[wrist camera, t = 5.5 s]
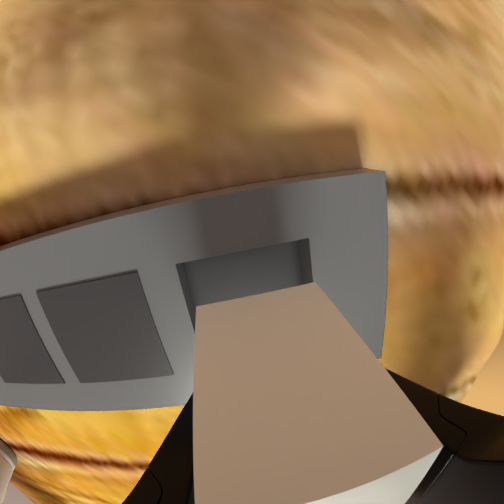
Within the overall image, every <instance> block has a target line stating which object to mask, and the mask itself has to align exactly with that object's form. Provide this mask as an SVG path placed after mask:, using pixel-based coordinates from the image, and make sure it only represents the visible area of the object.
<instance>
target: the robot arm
mask: <svg viewBox="0 0 504 504" xmlns="http://www.w3.org/2000/svg"><path fill="white" fill-rule="evenodd" d="M386 370H387V372H388V373H389V374H390V376H391V377H392V378H393V379H394V381H395V382H396V383H397V385H398V386H399V387H400V389H401V390H402V391H403V392H404V394H405V395H406V396H407V398H408V399H409V400H410V402H411V403H412V404H413V406H414V407H415V408H416V410H417V411H418V412H419V414H420V415H421V416H422V418H423V419H424V420H425V422H426V423H427V424H428V426H429V427H430V428H431V430H432V431H433V432H434V434H435V435H436V437H437V438H438V439H439V441H440V442H441V443H442V445H443V447H442V449H441V451H440V453H439V454H438V456H437V458H436V459H435V461H434V462H433V464H432V466H431V467H430V469H429V470H428V472H427V473H426V475H425V476H424V478H423V479H422V481H421V482H420V484H419V485H418V487H417V488H416V489H415V491H414V492H413V493H412V495H411V496H410V498H409V499H408V500H407V501H406V503H405V504H504V416H501V415H497V414H493V413H490V412H487V411H483V410H480V409H476V408H473V407H470V406H468V405H465V404H462V403H459V402H457V401H454V400H452V399H450V398H447V397H445V396H443V395H441V394H438V395H437V393H436V392H434V391H432V390H430V389H427V388H425V387H423V386H421V385H419V384H417V383H415V382H412V381H410V380H408V379H406V378H404V377H402V376H400V375H398V374H396V373H394V372H392V371H390V370H388V369H386ZM122 504H195V498H194V470H193V393H192V395H191V396H190V398H189V400H188V401H187V403H186V405H185V406H184V408H183V410H182V411H181V413H180V415H179V416H178V418H177V420H176V421H175V423H174V425H173V426H172V428H171V430H170V431H169V433H168V435H167V436H166V438H165V440H164V441H163V443H162V445H161V446H160V448H159V450H158V451H157V453H156V454H155V456H154V458H153V459H152V461H151V463H150V464H149V466H148V468H147V469H146V471H145V472H144V474H143V475H142V477H141V479H140V480H139V481H138V483H137V484H136V486H135V487H134V489H133V490H132V492H131V493H130V494H129V495H128V497H127V498H126V499H125V501H124V502H123V503H122Z"/></svg>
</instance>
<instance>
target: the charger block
mask: <svg viewBox="0 0 504 504" xmlns="http://www.w3.org/2000/svg"><path fill="white" fill-rule="evenodd" d="M442 447H443V445H442V443H441V442H440V441H439V439H438V438H437V437H436V435H435V434H434V432H433V431H432V430H431V428H430V427H429V426H428V424H427V423H426V422H425V420H424V419H423V418H422V416H421V415H420V414H419V412H418V411H417V410H416V408H415V407H414V406H413V404H412V403H411V402H410V400H409V399H408V398H407V396H406V395H405V394H404V392H403V391H402V390H401V389H400V387H399V386H398V385H397V383H396V382H395V381H394V379H393V378H392V377H391V376H390V374H389V373H388V372H387V370H386V369H385V368H384V367H383V365H382V364H381V363H380V361H379V360H378V359H377V358H376V356H375V355H374V354H373V353H372V351H371V350H370V349H369V347H368V346H367V345H366V344H365V342H364V341H363V340H362V339H361V337H360V336H359V335H358V334H357V332H356V331H355V330H354V329H353V327H352V326H351V325H350V324H349V322H348V321H347V320H346V319H345V317H344V316H343V315H342V314H341V313H340V311H339V310H338V309H337V308H336V306H335V305H334V304H333V303H332V301H331V300H330V299H329V298H328V297H327V295H326V294H325V293H324V292H323V291H322V289H321V288H320V287H319V286H318V284H317V283H316V282H313V283H308V284H304V285H299V286H295V287H290V288H286V289H281V290H276V291H272V292H267V293H262V294H257V295H252V296H248V297H243V298H238V299H232V300H227V301H222V302H217V303H212V304H206V305H201V306H196V321H195V344H194V375H193V470H194V498H195V504H405V503H406V501H407V500H408V499H409V498H410V496H411V495H412V493H413V492H414V491H415V489H416V488H417V487H418V485H419V484H420V482H421V481H422V479H423V478H424V476H425V475H426V473H427V472H428V470H429V469H430V467H431V466H432V464H433V462H434V461H435V459H436V458H437V456H438V454H439V453H440V451H441V449H442Z"/></svg>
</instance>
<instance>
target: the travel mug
mask: <svg viewBox="0 0 504 504" xmlns="http://www.w3.org/2000/svg"><path fill="white" fill-rule="evenodd" d="M16 463H17V458H16V456H15V454H14V453H13V451H12V450H11V449H10V448H9V447H8V446H7V445H6V444H5V443H4V442H3V441H2V440H1V439H0V504H2V503H3V499H4V496H5V494H6V491H7V487H8V485H9V482H10V479H11V476H12V474H13V470H14V468H15V466H16Z"/></svg>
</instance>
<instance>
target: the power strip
mask: <svg viewBox="0 0 504 504" xmlns="http://www.w3.org/2000/svg"><path fill="white" fill-rule="evenodd" d="M387 276H388V216H387V194H386V179H385V171H380V170H373V169H365V168H360V169H351V170H342V171H334V172H326V173H318V174H310V175H303V176H296V177H289V178H282V179H276V180H269V181H263V182H257V183H251V184H245V185H240V186H234V187H228V188H223V189H218V190H212V191H207V192H202V193H197V194H192V195H187V196H183V197H178V198H173V199H169V200H164V201H160V202H155V203H151V204H146V205H142V206H138V207H134V208H130V209H125V210H121V211H117V212H114V213H110V214H106V215H102V216H98V217H94V218H91V219H87V220H83V221H80V222H76V223H73V224H69V225H66V226H62V227H59V228H55V229H52V230H49V231H45V232H42V233H39V234H36V235H33V236H29V237H26V238H23V239H20V240H17V241H14V242H11V243H8V244H5V245H2V246H0V405H3V406H11V407H20V408H30V409H44V410H64V411H113V410H135V409H149V408H161V407H171V406H180V405H186V403H187V401H188V400H189V398H190V396H191V395H192V393H193V375H194V344H195V321H196V306H201V305H206V304H212V303H217V302H222V301H227V300H232V299H238V298H243V297H248V296H252V295H257V294H262V293H267V292H272V291H276V290H281V289H286V288H290V287H295V286H299V285H304V284H308V283H313V282H316V283H317V284H318V286H319V287H320V288H321V289H322V291H323V292H324V293H325V294H326V295H327V297H328V298H329V299H330V300H331V301H332V303H333V304H334V305H335V306H336V308H337V309H338V310H339V311H340V313H341V314H342V315H343V316H344V317H345V319H346V320H347V321H348V322H349V324H350V325H351V326H352V327H353V329H354V330H355V331H356V332H357V334H358V335H359V336H360V337H361V339H362V340H363V341H364V342H365V344H366V345H367V346H368V347H369V349H370V350H371V351H372V353H373V354H374V355H375V356H376V358H377V359H379V358H381V355H382V346H383V337H384V326H385V314H386V299H387Z"/></svg>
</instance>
